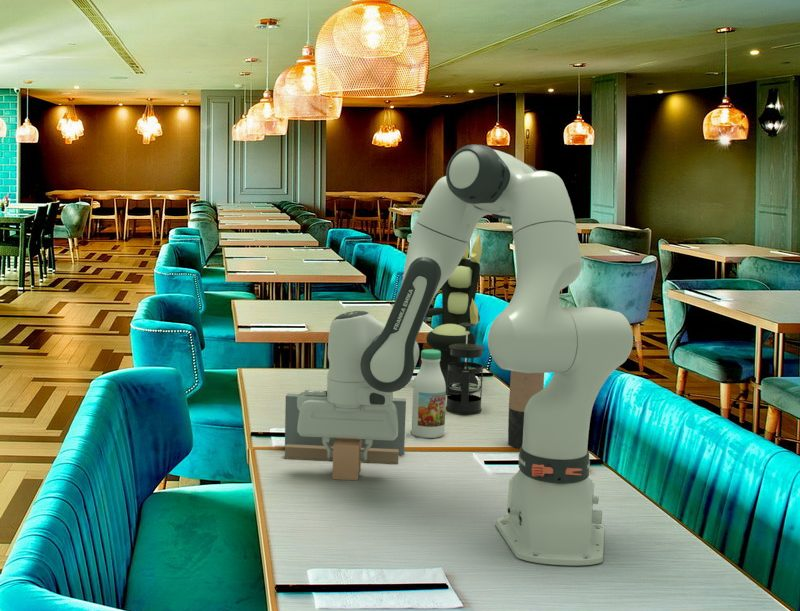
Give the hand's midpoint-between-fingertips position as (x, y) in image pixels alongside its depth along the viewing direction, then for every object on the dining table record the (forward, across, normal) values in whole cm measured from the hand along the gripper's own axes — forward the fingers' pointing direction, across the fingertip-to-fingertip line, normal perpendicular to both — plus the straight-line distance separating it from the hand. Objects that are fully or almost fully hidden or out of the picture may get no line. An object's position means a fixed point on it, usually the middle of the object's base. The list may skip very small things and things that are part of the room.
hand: (347, 458), depth 183 cm
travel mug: (+3, +38, +26) cm, 46 cm away
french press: (+3, +25, +54) cm, 60 cm away
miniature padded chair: (+3, +22, +80) cm, 83 cm away
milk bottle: (+3, +16, +31) cm, 35 cm away
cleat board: (+3, -2, +12) cm, 13 cm away
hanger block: (+3, 0, 0) cm, 3 cm away
